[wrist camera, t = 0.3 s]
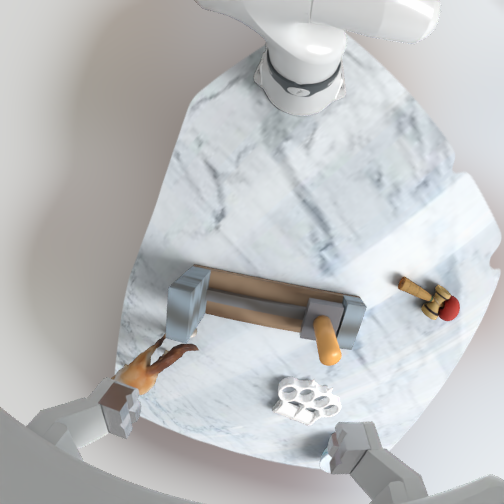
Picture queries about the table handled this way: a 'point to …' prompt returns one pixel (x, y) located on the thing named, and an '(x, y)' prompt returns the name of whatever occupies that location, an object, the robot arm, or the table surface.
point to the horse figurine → (144, 374)
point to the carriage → (323, 328)
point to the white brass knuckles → (305, 401)
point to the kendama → (433, 300)
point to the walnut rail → (264, 293)
